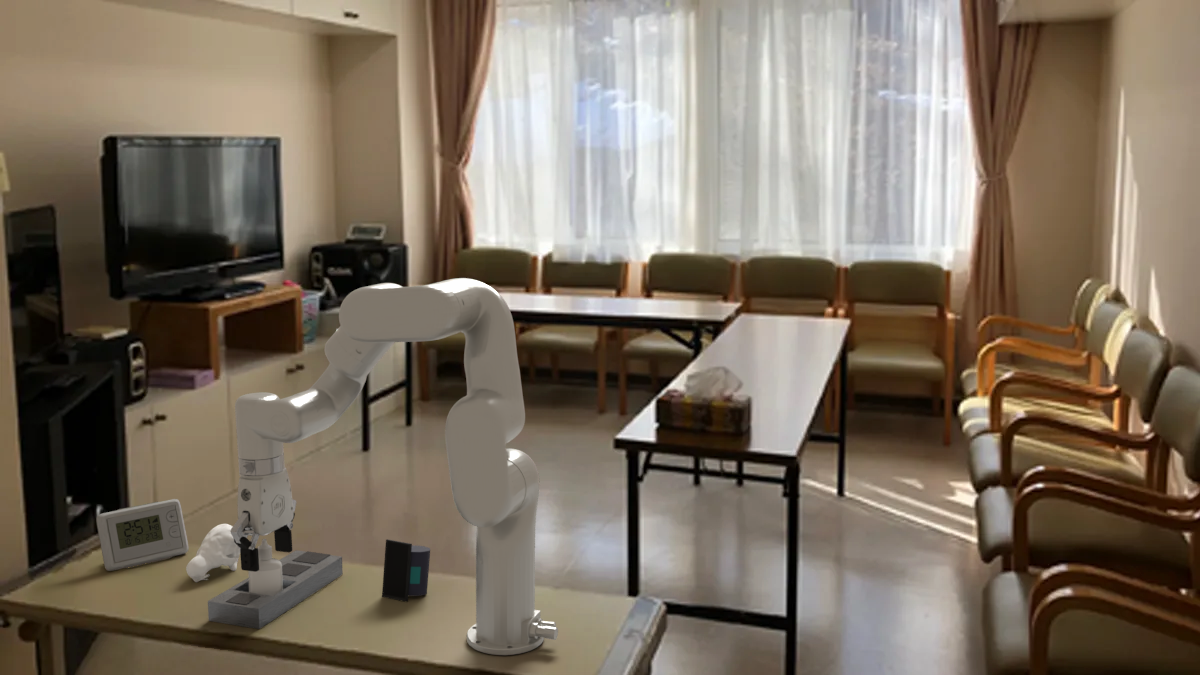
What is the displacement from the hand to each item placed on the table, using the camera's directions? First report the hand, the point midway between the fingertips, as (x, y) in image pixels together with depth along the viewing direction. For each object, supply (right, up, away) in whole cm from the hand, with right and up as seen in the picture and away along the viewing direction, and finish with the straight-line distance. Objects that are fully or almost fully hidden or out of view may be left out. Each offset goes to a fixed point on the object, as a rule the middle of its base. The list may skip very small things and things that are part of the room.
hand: (267, 560), depth 188 cm
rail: (0, -7, +5) cm, 9 cm away
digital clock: (-31, -5, +22) cm, 38 cm away
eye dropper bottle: (-1, -8, +1) cm, 8 cm away
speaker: (+23, -8, +7) cm, 26 cm away
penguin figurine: (-15, -6, +15) cm, 22 cm away
